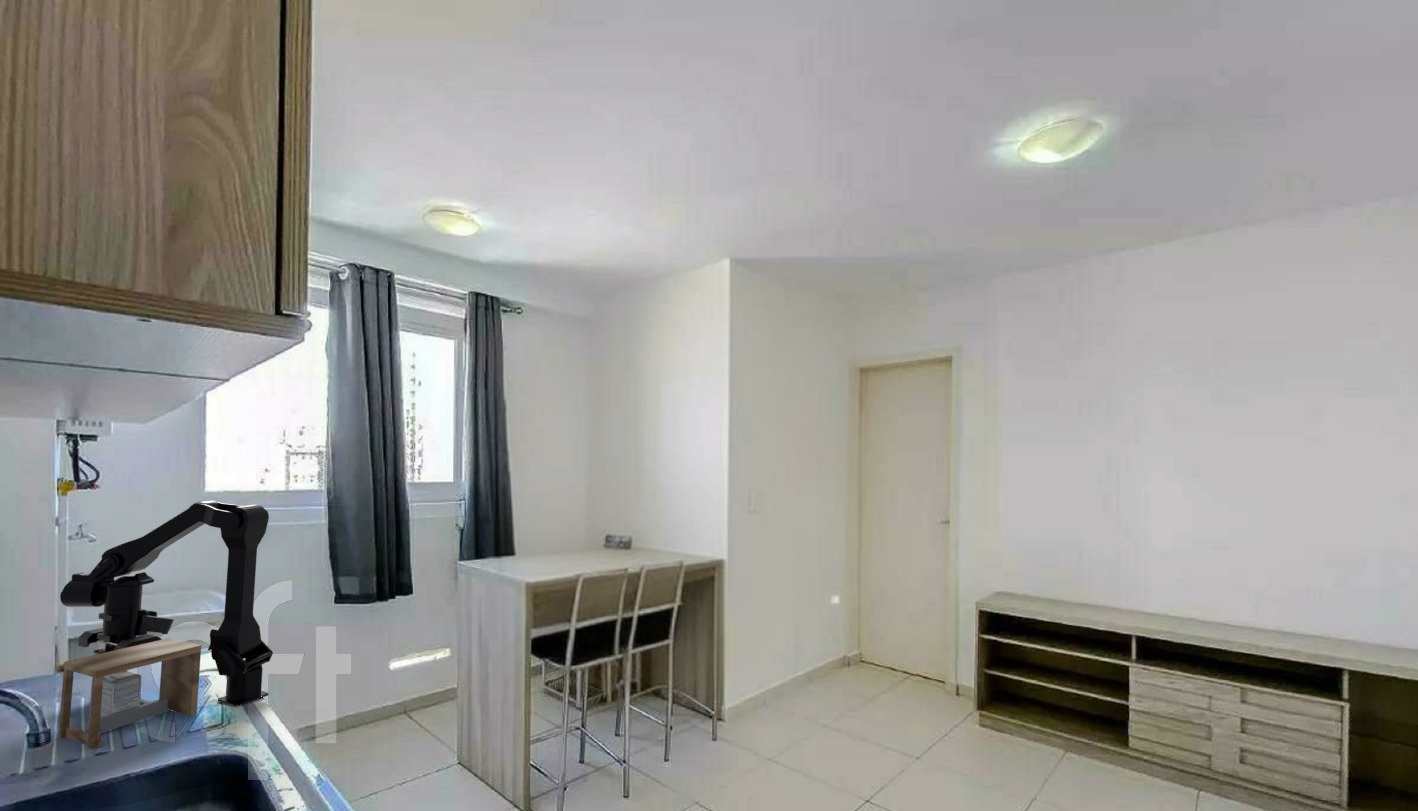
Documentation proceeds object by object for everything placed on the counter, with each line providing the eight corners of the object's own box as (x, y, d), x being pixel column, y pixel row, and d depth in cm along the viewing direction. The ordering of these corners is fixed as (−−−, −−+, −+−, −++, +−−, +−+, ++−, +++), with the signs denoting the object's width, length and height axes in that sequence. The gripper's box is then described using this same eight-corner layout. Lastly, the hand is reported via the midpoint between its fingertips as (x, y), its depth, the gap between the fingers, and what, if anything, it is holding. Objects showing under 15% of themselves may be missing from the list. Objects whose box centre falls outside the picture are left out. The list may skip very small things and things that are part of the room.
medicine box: (139, 721, 120) (143, 674, 120) (110, 730, 116) (113, 682, 116) (117, 714, 123) (120, 668, 124) (87, 722, 119) (91, 675, 119)
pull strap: (172, 710, 124) (175, 679, 124) (101, 733, 114) (103, 699, 114) (109, 691, 133) (112, 662, 133) (38, 711, 123) (41, 679, 123)
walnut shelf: (196, 714, 123) (201, 645, 124) (90, 749, 109) (96, 671, 109) (164, 704, 128) (169, 638, 128) (58, 737, 113) (64, 661, 114)
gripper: (193, 602, 135) (188, 677, 134) (144, 594, 142) (139, 665, 141) (129, 615, 125) (123, 696, 124) (80, 605, 132) (74, 681, 131)
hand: (117, 683), depth 130 cm, fingers closed
